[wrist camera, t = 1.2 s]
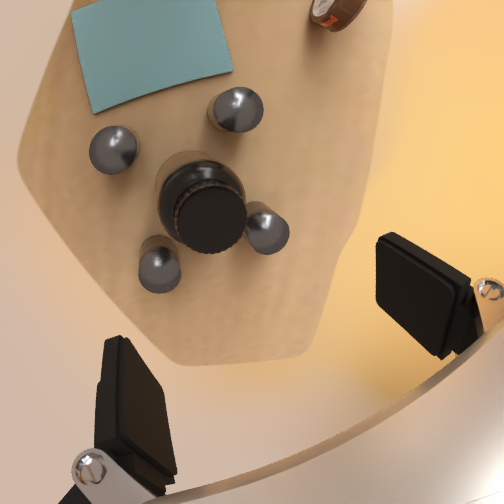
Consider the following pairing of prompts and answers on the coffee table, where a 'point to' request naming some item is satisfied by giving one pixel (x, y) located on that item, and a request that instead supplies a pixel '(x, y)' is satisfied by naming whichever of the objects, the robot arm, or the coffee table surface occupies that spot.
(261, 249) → the spacer back right
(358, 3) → the tin
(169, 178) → the supplement bottle
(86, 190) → the coffee table surface
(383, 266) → the robot arm
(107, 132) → the cylinder
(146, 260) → the cylinder
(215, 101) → the cylinder
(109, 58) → the teal board
